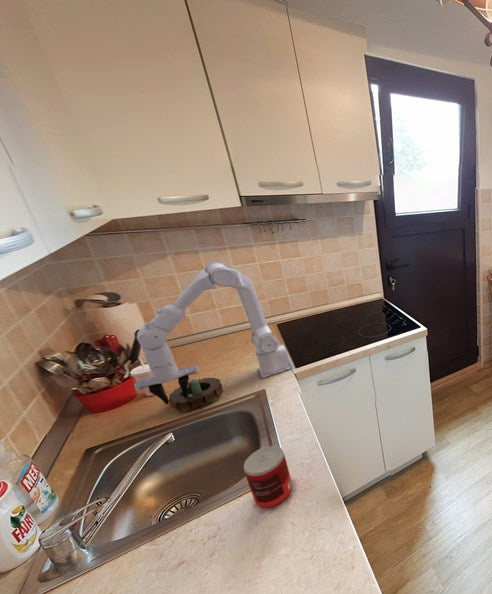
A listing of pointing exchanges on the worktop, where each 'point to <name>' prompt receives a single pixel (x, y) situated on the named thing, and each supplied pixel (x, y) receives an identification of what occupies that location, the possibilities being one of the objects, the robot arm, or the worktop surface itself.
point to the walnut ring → (198, 400)
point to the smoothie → (142, 375)
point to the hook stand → (196, 390)
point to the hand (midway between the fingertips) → (176, 399)
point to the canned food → (268, 476)
